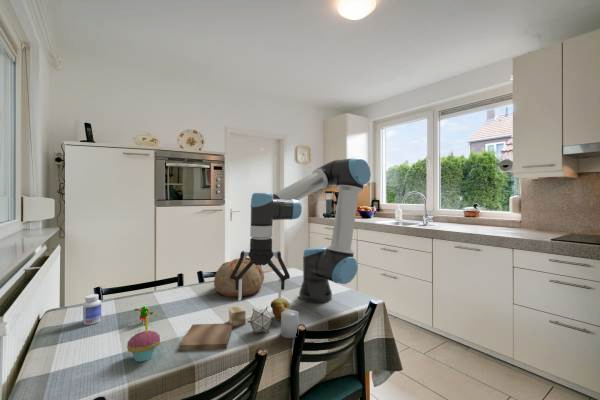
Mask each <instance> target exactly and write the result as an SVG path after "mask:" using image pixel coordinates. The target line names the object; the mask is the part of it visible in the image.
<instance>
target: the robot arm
mask: <svg viewBox="0 0 600 400" xmlns="http://www.w3.org/2000/svg"><path fill="white" fill-rule="evenodd" d="M371 174H372V173H371V168H370V165H369V163H368V162H367V160H365V159H364V158H361V157H350V158H346V159H344V158H343V159H335V160H331V161H329V162H327V163H326V164H324V165H321V166H320V167H318V168H316V169H314V170H313V171H312V173H311V174H309V175H307V176H305V177H303V178H301V179H299V180H298V181H296V182H293V183H292V184H290V185H288V186H286V187H284V188H282V189H280V190H278V191H276V192H273V193H269V192H268V193H266V192H253V193H252V195H251V198H250V234H249V235H250V236H249V237H251V238H250V240H249V252H247V251H244V250H242V251H241V252H240V253H239V254H240V256H239V258H240V259H239V258H238V259H239V261H238V263H237V265H236V267H235V269H234V271H233V272H232V274H231V276H230V279H234V280H235V289H236V290H239V294H238V297H237V298H238V299H237V300H238V301H241V300H242V297H243V296H242V279H240V278H241V277H242V276H243V275H244V274H245V273H246V271H247V270H248V269H249V268H250V267H251V266H252V265H253V264H255V265H260V266H265V265H268V266H269V267H270V268H271V270H272V271H273V272H274V273H275V274H276V275H277V277H278V296H277V298H279V300H281V297H282V290H283V291H284V290H285V281H286V280H290V279H291V278H290V277H291V276H290V274H289V273H290V272H289V271H288V269H287V267H286V263H284V260H283V258H282V253H281V251H280V250H278V251H277V252H274V251H273V239H272V238H273V223H274V222H273V221H276V220H277V221H283V220H285V221H287V220H289V221H290V220H297V219H299V218H300V217H301V215H302V212H303V211H302V207H303V206H302V204H301V202H300V200H302V199H303V198H306V197H307V196H309V195H311V194H312V193H314V192H316V191H318V190H319V189H320V190H321V189H322V190H323V189H326V188H327V187H330V186H336V189H337V190H338V196H337V201H336V209H335V217H334V221H333V222H334V223H333V229H332V236H331V242H330V245H329V246H317V247H316V246H315V247H307V248H305V249H304V251H303V256H302V258H303V259H302V260H303V261H302V263H303V264H302V266H303V267H302V269H303V270H302V274H303V276H302V277H303V279H302V283H301V286H300V288H299V292H298V293H299V296H298V297H299V299H300V300H302V301H304V302H306V303H315V304H319V303H327V302H329V301H331V300H332V298H333V293H332V289H331V286H330V283H329V281H330V282H331V281H332V282H334V283H335V284H340V285H347V284H349V283H351V282H352V280H354V278H355V277H356V276H357V272H358V270H359V269H358V268H359V267H358V263H357V262H358V261H357V260H356V258H355V257H354V251H353V250H352V242H353V235H354V228H355V223H356V221H355V220H356V213H357V207H358V200H359V194H360V193H361V192H362V191H363V189H364V186H365V185H367V184H368V183H369V182H370V179H371V176H372V175H371ZM274 257H275V259H277V261H278V263H279V265H280V268H281V269H282V271H283V273H282V272H281V271H280V269H279V268H278V267H277V266H276V264H274V262H273V261H272V258H274ZM245 258H250V259H251V260H250V262H249V263H248V264H247V265H246V266H245V267H244V269H243V270H242V271H241V272H240V273H239V274H238V275H235V274H236V273H237V271H238V269H239V267H240V265H241V263H242V261H243V259H245ZM238 301H237V302H238Z"/></svg>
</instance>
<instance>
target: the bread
mask: <svg viewBox="0 0 600 400" xmlns="http://www.w3.org/2000/svg"><path fill="white" fill-rule="evenodd" d="M239 259H240V257H239V258H235V259H232V260H231V261H226V262H223V263H222V264H221V266H220V267H219V268H217V270H216V272H215V276H214V279H213V286H214V289H215V290H216V292H217V293H219V294H220V295H222V296H225V297H228V298H229V297H230V298H233V297H234V298H238V294H239V290H236V289H235V280H234V279H230V276H231V274H232V272H233V271H234V269H235V267H236V265H237V263H238V261H239ZM250 260H251V259H250V257H246V258H244V259H243V261H242V263H241V265H240V267H239V269H238V271H237V273H236V274H235V275H238V274H239V273H240V272H241V271H242V270H243V269H244V267H245V266H246V265H247V264H248V263H249V262H250ZM240 279H242V296H241V297H247V296H250V295H253V294H255V293H257V292H258V291H260V289H261V287H262V285H263V284H264V280H265V274H264V270H263V268H262V265H255V264H253V265H252V266H251V267H250V268H249V269H248V270H247V271H246V273H245V274H244V275H243V276H242V277H241V278H240Z"/></svg>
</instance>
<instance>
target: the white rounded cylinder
mask: <svg viewBox="0 0 600 400" xmlns="http://www.w3.org/2000/svg"><path fill="white" fill-rule="evenodd" d="M299 316H300V315H299V311H297V310H294V309H290V310H286V311H283V312H282V313H281V320H280V335H281V336H282V337H283V338H287V339H293V338H297V336H296V333H297V327H298V326H299V323H300V322H299V321H300V318H299Z"/></svg>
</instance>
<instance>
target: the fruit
mask: <svg viewBox="0 0 600 400" xmlns="http://www.w3.org/2000/svg"><path fill="white" fill-rule="evenodd" d="M270 307H271V309H272V314H273V316H274V318H275V319H276V320H277V321H281V313H282V312H283V311H286V310H291V305H290V302H289V300H288V299H286V298H285V297H282V296H281V300H279V298H278V297H277V298H275V299H273V300H272V301H271V302H270Z"/></svg>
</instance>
